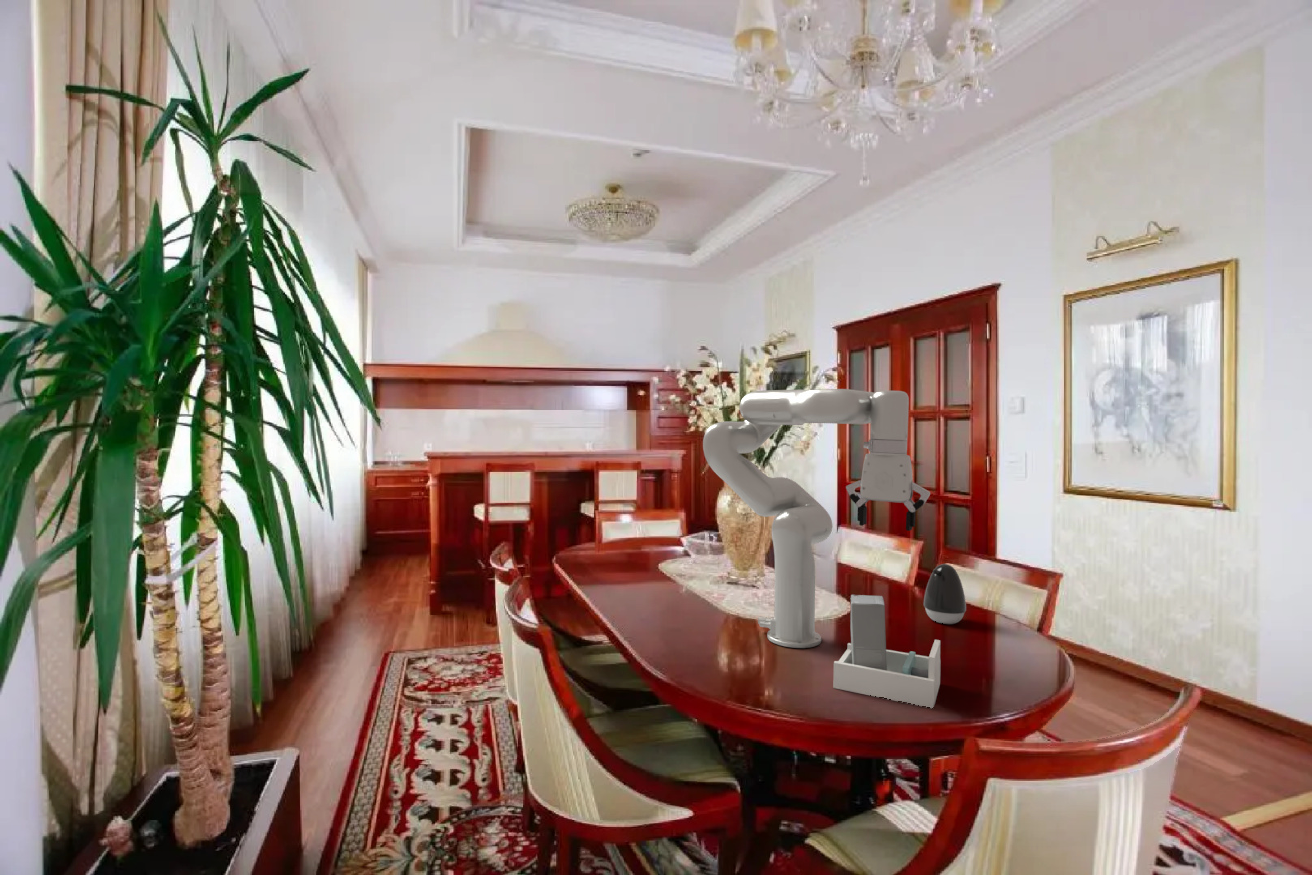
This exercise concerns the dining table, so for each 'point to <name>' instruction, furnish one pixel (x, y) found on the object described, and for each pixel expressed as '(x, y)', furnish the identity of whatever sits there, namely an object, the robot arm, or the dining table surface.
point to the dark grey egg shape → (945, 596)
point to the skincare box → (868, 631)
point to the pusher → (913, 667)
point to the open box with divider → (891, 677)
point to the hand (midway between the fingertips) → (885, 527)
